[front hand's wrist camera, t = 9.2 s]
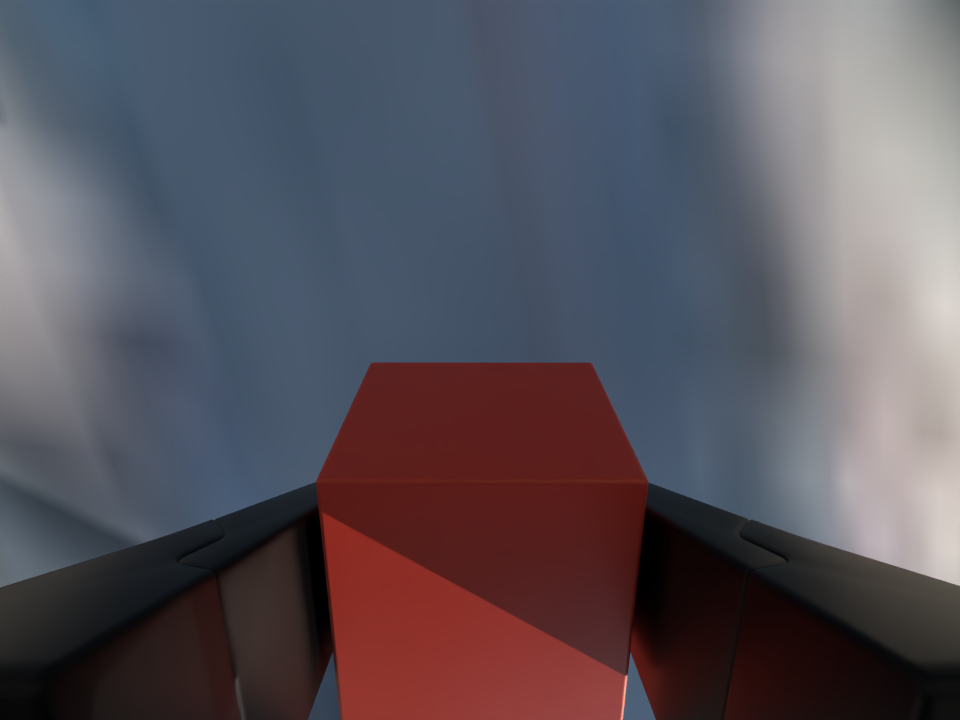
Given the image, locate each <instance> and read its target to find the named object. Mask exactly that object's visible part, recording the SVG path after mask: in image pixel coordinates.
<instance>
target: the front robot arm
mask: <svg viewBox="0 0 960 720" xmlns="http://www.w3.org/2000/svg"><path fill="white" fill-rule="evenodd" d="M332 652H333V644H332V635H331V625H330V615H329V605H328V595H327V586H326V576H325V566H324V556H323V547H322V537H321V527H320V517H319V507H318V498H317V488H316V482H315V483H312V484H309V485H307V486H304V487H301V488H299V489H296V490H293V491H290V492H288V493H285V494H282V495H280V496H277V497H274V498H271V499H269V500H266V501H263V502H261V503H258V504H255V505H252V506H250V507H247V508H244V509H242V510H239V511H236V512H233V513H231V514H228V515H225V516H223V517H220V518H217V519H215V521H214V520H209V521H207V522H204V523H201V524H198V525H196V526H193V527H190V528H187V529H184V530H181V531H179V532H176V533H173V534H170V535H167V536H164V537H161V538H158V539H155V540H152V541H149V542H145V543H142V544H139V545H136V546H133V547H130V548H127V549H123V550H120V551H117V552H114V553H110V554H107V555H104V556H101V557H98V558H94V559H91V560H88V561H85V562H81V563H78V564H75V565H72V566H69V567H65V568H62V569H59V570H56V571H52V572H49V573H46V574H43V575H40V576H36V577H33V578H30V579H27V580H23V581H20V582H17V583H14V584H11V585H7V586H4V587H1V588H0V720H308V717H309V714H310V712H311V709H312V706H313V703H314V701H315V698H316V695H317V693H318V690H319V687H320V684H321V682H322V679H323V676H324V674H325V671H326V668H327V666H328V663H329V660H330V657H331V655H332ZM630 652H631V654H632V657H633V660H634V662H635V665H636V668H637V670H638V673H639V676H640V678H641V681H642V684H643V686H644V689H645V692H646V694H647V697H648V700H649V702H650V705H651V708H652V710H653V713H654V716H655V718H656V720H960V586H958V585H955V584H952V583H948V582H945V581H942V580H939V579H935V578H932V577H929V576H926V575H922V574H919V573H916V572H913V571H909V570H906V569H903V568H900V567H896V566H893V565H890V564H887V563H883V562H880V561H877V560H874V559H870V558H867V557H864V556H861V555H857V554H854V553H851V552H848V551H844V550H841V549H838V548H835V547H831V546H828V545H825V544H822V543H819V542H816V541H813V540H810V539H807V538H803V537H800V536H797V535H794V534H791V533H788V532H786V531H783V530H780V529H777V528H774V527H771V526H768V525H765V524H763V523H760V522H757V521H754V520H750V521H749V520H748V519H747V518H744V517H741V516H738V515H736V514H733V513H730V512H728V511H725V510H722V509H719V508H717V507H714V506H711V505H708V504H706V503H703V502H700V501H697V500H695V499H692V498H689V497H686V496H684V495H681V494H678V493H675V492H673V491H670V490H667V489H665V488H662V487H659V486H656V485H654V484H651V483H648V491H647V500H646V509H645V518H644V528H643V537H642V546H641V556H640V565H639V574H638V583H637V593H636V602H635V611H634V621H633V630H632V639H631V648H630Z"/></svg>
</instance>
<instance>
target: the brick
mask: <svg viewBox="0 0 960 720" xmlns="http://www.w3.org/2000/svg"><path fill="white" fill-rule="evenodd" d="M316 488H317V498H318V507H319V517H320V527H321V537H322V547H323V556H324V566H325V576H326V586H327V595H328V605H329V615H330V625H331V635H332V644H333V654H334V664H335V674H336V684H337V693H338V703H339V713H340V720H623V713H624V704H625V695H626V686H627V676H628V667H629V658H630V648H631V639H632V630H633V621H634V611H635V602H636V593H637V583H638V574H639V565H640V556H641V546H642V537H643V528H644V518H645V509H646V500H647V491H648V480H647V478H646V476H645V474H644V472H643V470H642V467H641V465H640V463H639V461H638V459H637V457H636V455H635V453H634V451H633V449H632V447H631V444H630V442H629V440H628V438H627V436H626V434H625V432H624V430H623V428H622V426H621V424H620V421H619V419H618V417H617V415H616V413H615V411H614V409H613V407H612V405H611V403H610V401H609V398H608V396H607V394H606V392H605V390H604V388H603V386H602V384H601V382H600V380H599V378H598V375H597V373H596V371H595V369H594V367H593V365H592V364H591V363H371V364H370V366H369V369H368V371H367V373H366V375H365V377H364V379H363V381H362V384H361V386H360V388H359V390H358V392H357V394H356V397H355V399H354V401H353V403H352V405H351V407H350V409H349V412H348V414H347V416H346V418H345V420H344V422H343V424H342V427H341V429H340V431H339V433H338V435H337V437H336V440H335V442H334V444H333V446H332V448H331V450H330V452H329V455H328V457H327V459H326V461H325V463H324V465H323V468H322V470H321V472H320V474H319V476H318V478H317V481H316Z"/></svg>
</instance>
